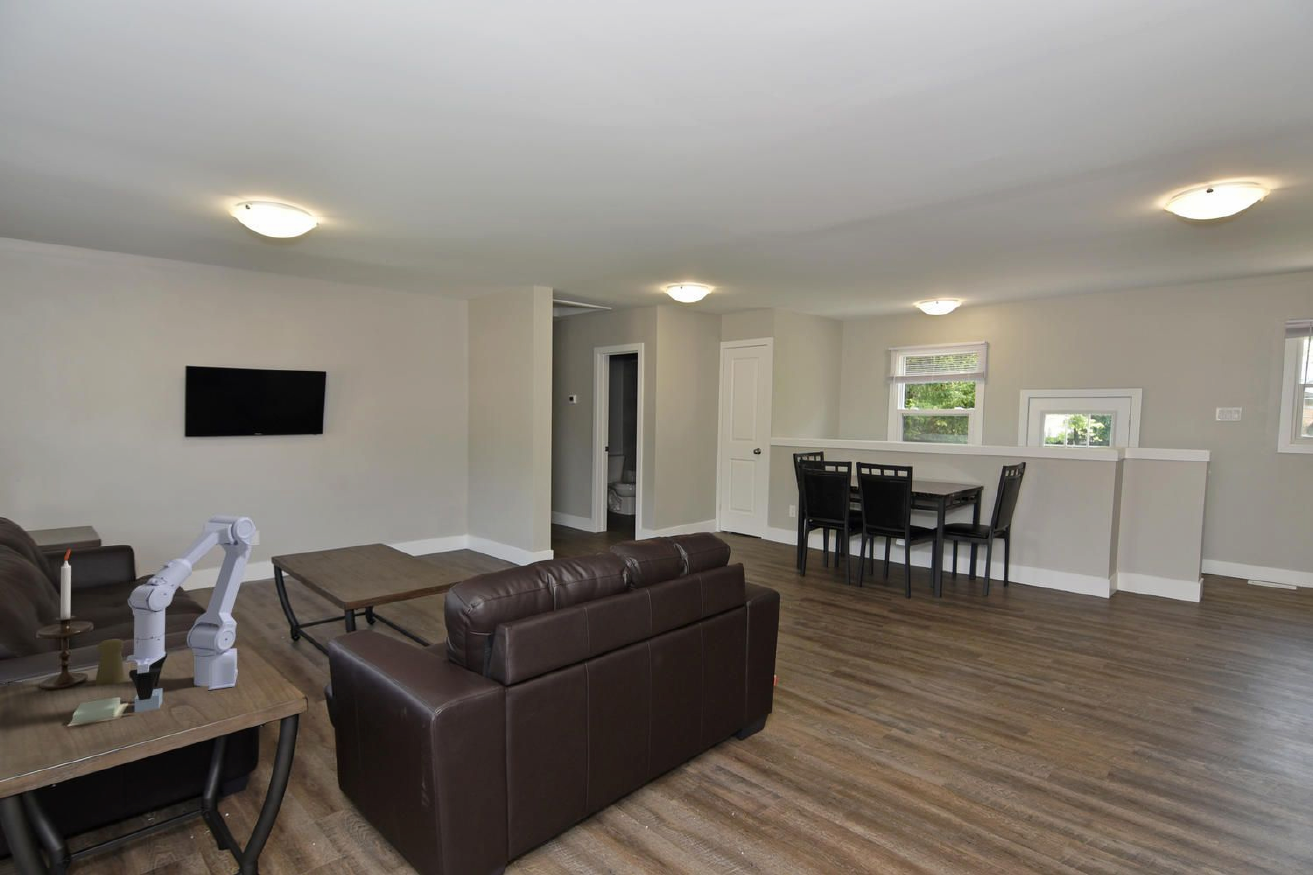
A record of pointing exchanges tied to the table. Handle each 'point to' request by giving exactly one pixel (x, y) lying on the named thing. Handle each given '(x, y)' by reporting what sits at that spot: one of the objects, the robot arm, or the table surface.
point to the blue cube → (149, 701)
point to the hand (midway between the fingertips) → (148, 692)
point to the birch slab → (116, 716)
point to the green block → (96, 710)
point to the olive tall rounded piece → (110, 662)
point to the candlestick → (64, 636)
